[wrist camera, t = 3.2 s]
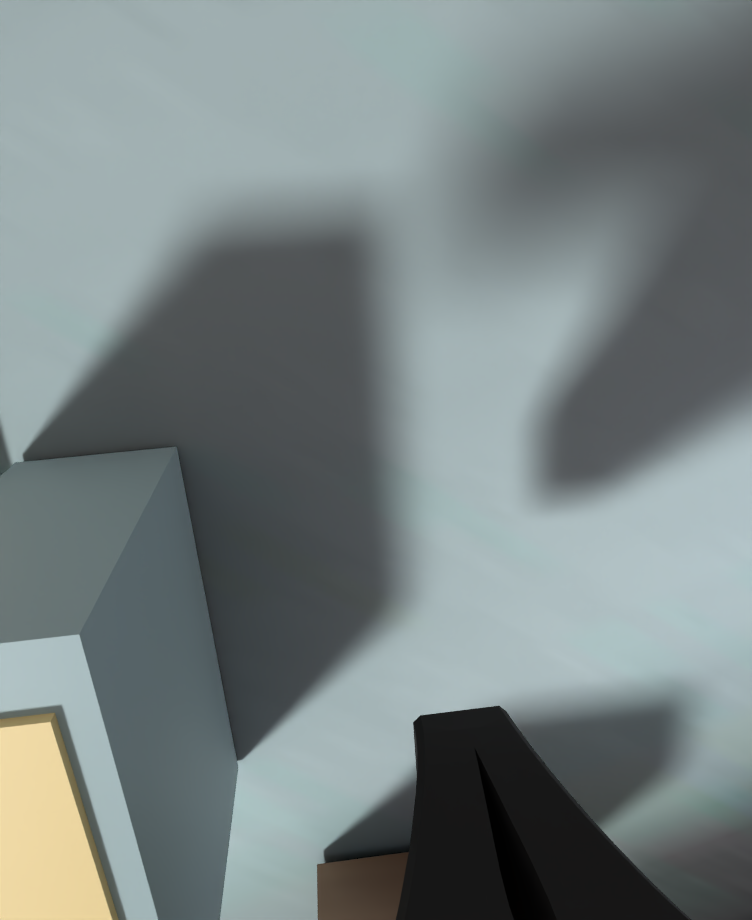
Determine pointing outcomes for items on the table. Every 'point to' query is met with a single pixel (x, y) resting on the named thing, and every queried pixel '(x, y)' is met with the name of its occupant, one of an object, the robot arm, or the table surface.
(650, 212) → the table surface
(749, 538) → the table surface
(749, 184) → the table surface
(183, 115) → the table surface
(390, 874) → the walnut bookend
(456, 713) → the robot arm
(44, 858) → the blue-grey box
